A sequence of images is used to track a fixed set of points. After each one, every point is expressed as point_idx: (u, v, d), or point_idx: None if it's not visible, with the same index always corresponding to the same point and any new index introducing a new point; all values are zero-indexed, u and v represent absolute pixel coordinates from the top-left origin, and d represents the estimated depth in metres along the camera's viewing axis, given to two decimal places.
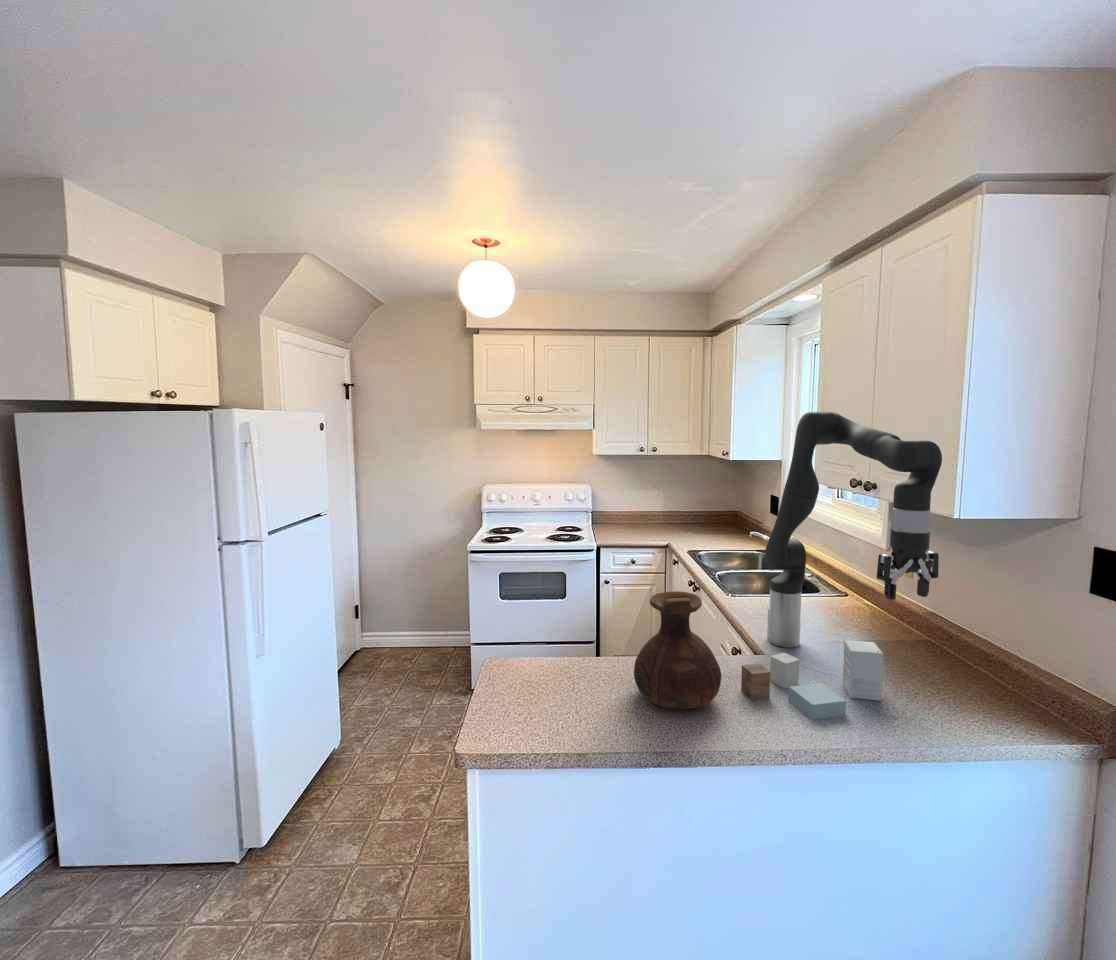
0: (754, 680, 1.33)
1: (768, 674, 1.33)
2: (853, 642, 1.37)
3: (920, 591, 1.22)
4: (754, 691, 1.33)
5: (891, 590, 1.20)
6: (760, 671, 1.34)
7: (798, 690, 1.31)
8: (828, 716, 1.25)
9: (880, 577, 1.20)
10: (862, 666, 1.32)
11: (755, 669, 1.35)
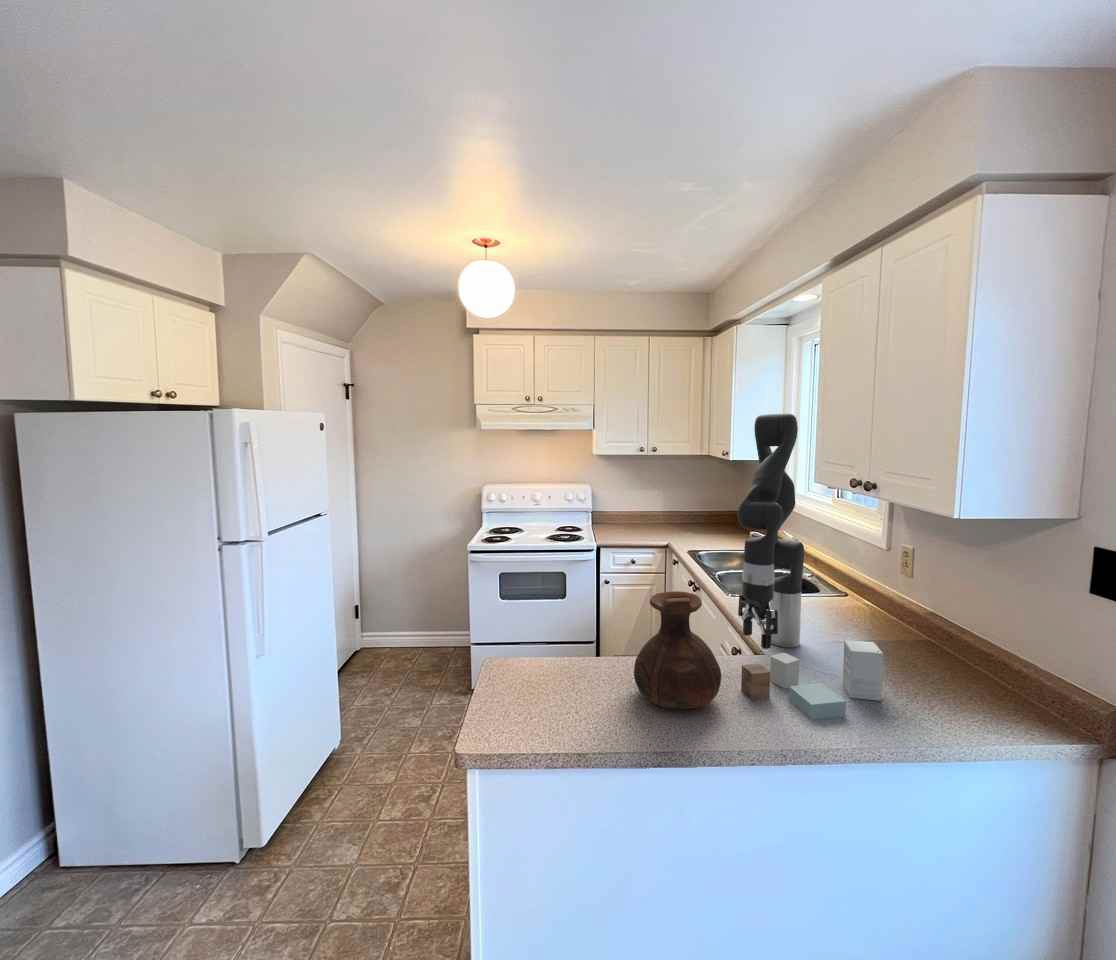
0: (754, 680, 1.33)
1: (768, 674, 1.33)
2: (853, 642, 1.37)
3: (747, 631, 1.38)
4: (754, 691, 1.33)
5: None
6: (760, 671, 1.34)
7: (798, 689, 1.31)
8: (827, 716, 1.25)
9: (773, 632, 1.27)
10: (862, 666, 1.32)
11: (755, 669, 1.35)
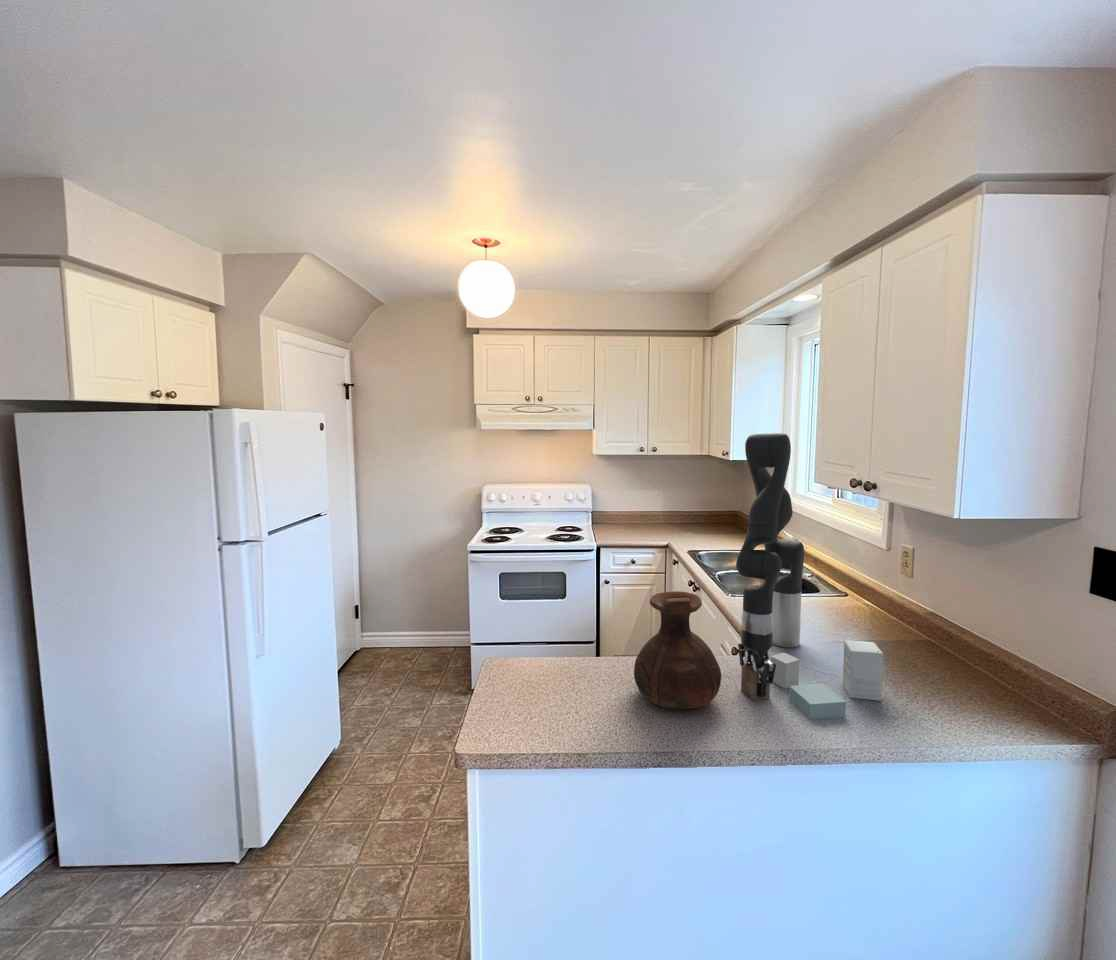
0: (754, 680, 1.33)
1: None
2: (853, 642, 1.37)
3: None
4: (754, 690, 1.33)
5: None
6: None
7: (798, 689, 1.31)
8: (827, 716, 1.25)
9: (768, 682, 1.30)
10: (862, 666, 1.32)
11: None
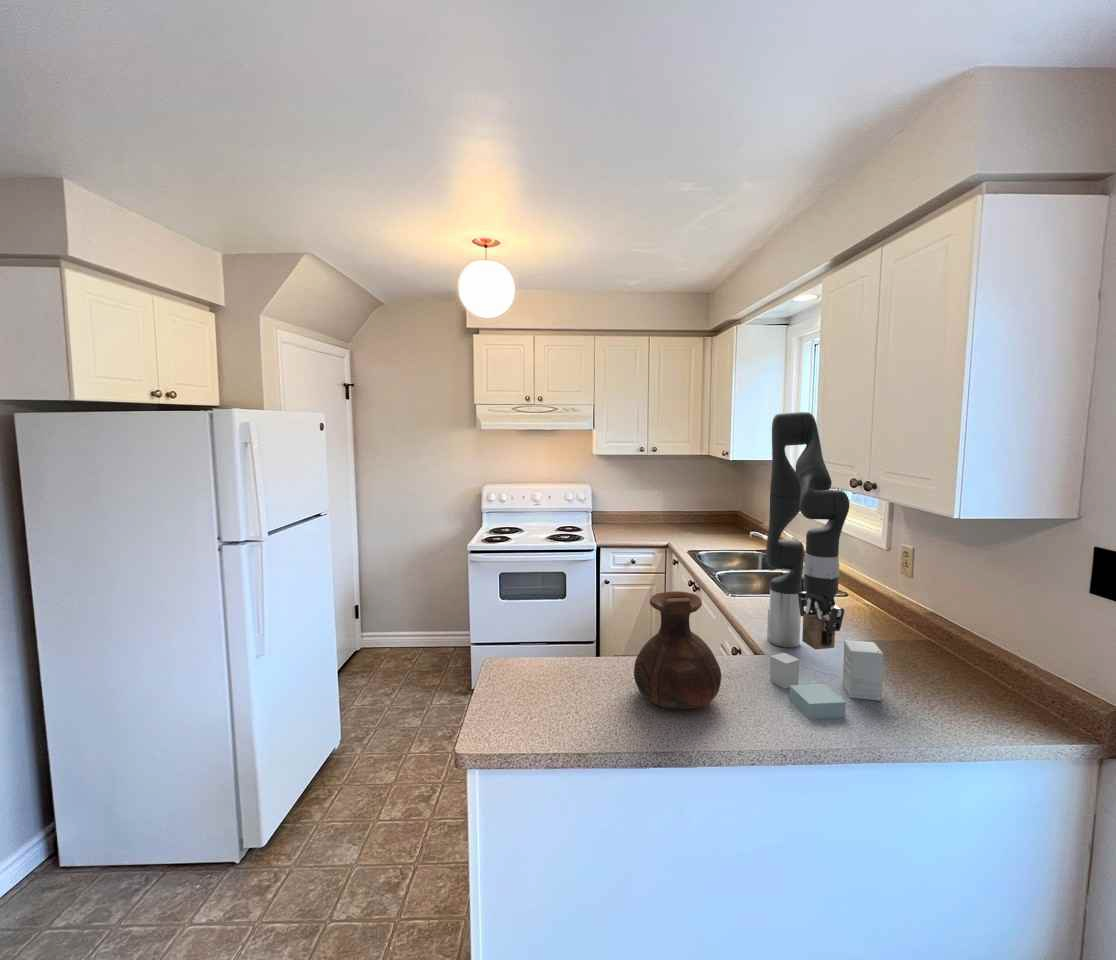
0: (819, 628, 1.24)
1: None
2: (853, 642, 1.37)
3: None
4: (818, 639, 1.25)
5: None
6: None
7: (798, 689, 1.31)
8: (826, 716, 1.25)
9: (835, 629, 1.22)
10: (862, 666, 1.32)
11: None
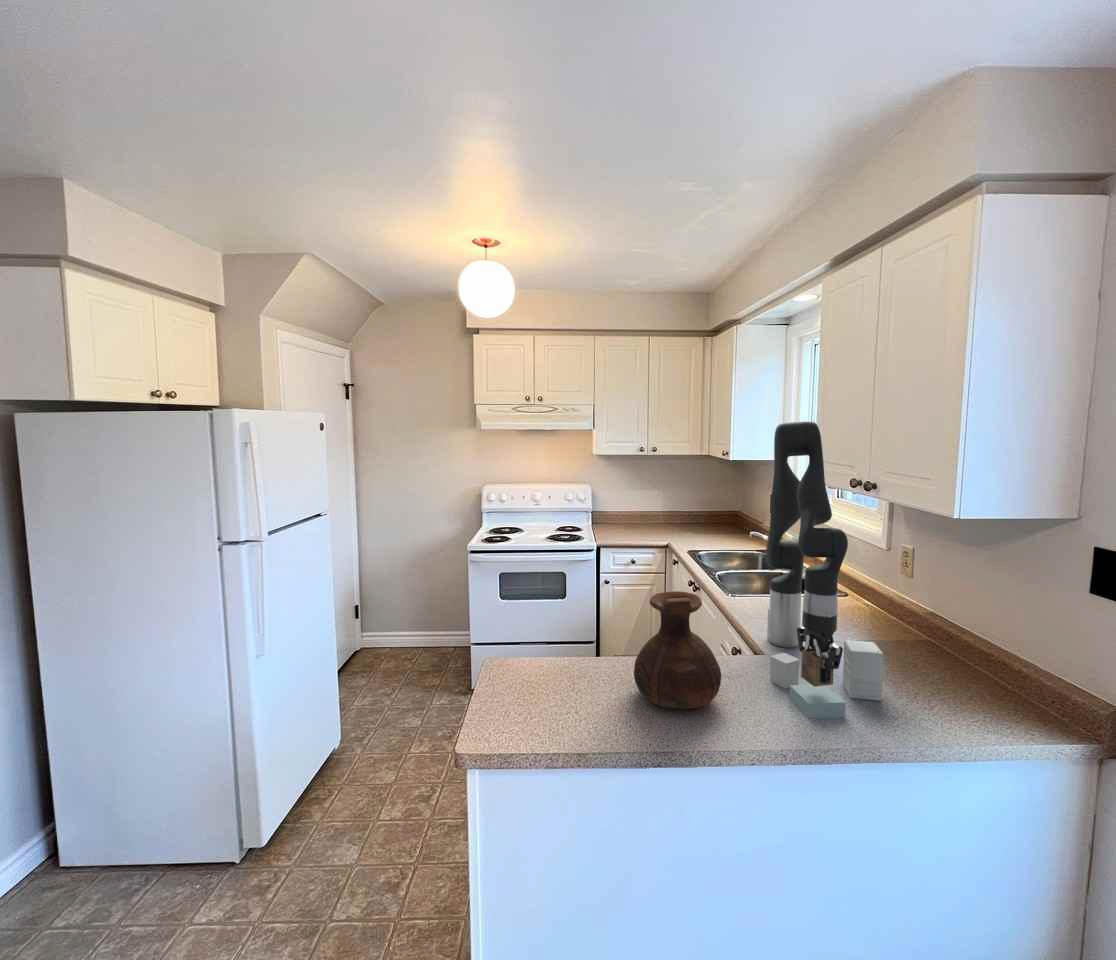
0: (817, 665, 1.25)
1: None
2: (853, 642, 1.37)
3: None
4: (817, 676, 1.25)
5: None
6: None
7: (798, 689, 1.31)
8: (826, 716, 1.25)
9: (833, 667, 1.22)
10: (862, 666, 1.32)
11: None
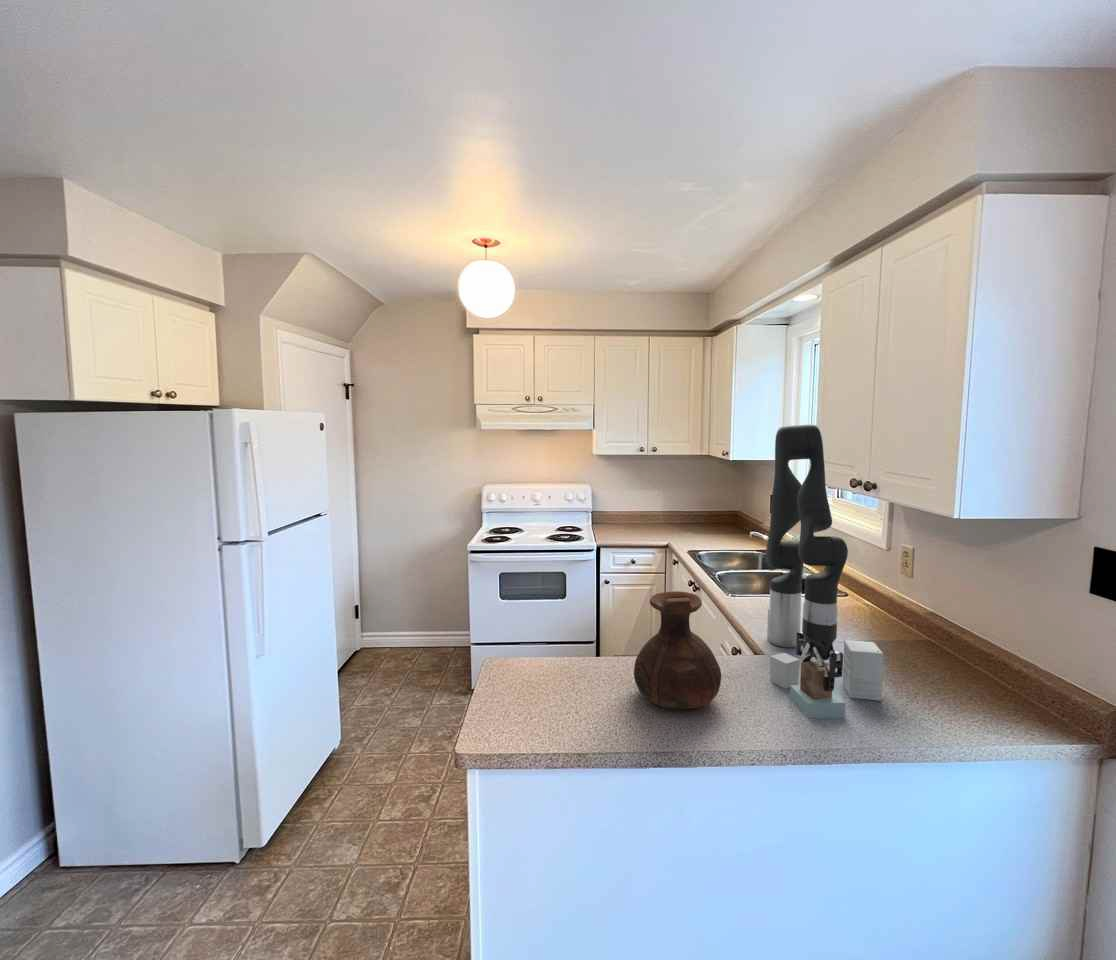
0: (816, 679, 1.26)
1: None
2: (853, 642, 1.37)
3: None
4: (816, 689, 1.26)
5: None
6: (822, 669, 1.27)
7: (798, 689, 1.31)
8: (825, 716, 1.25)
9: (837, 675, 1.21)
10: (862, 666, 1.32)
11: (816, 666, 1.28)
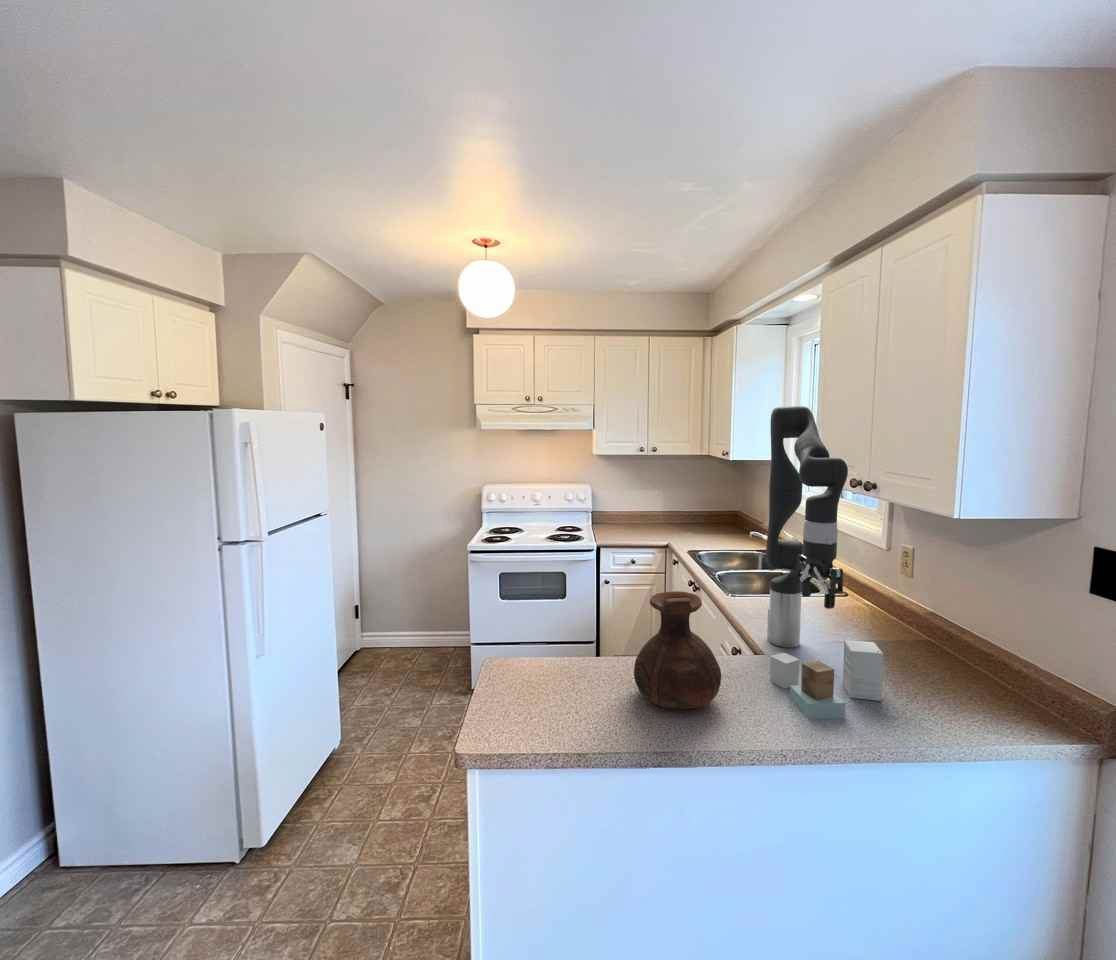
0: (819, 679, 1.25)
1: (832, 671, 1.26)
2: (853, 642, 1.37)
3: (806, 592, 1.35)
4: (819, 690, 1.26)
5: None
6: (824, 669, 1.27)
7: (798, 689, 1.31)
8: (825, 717, 1.25)
9: (838, 591, 1.24)
10: (862, 666, 1.32)
11: (818, 667, 1.28)
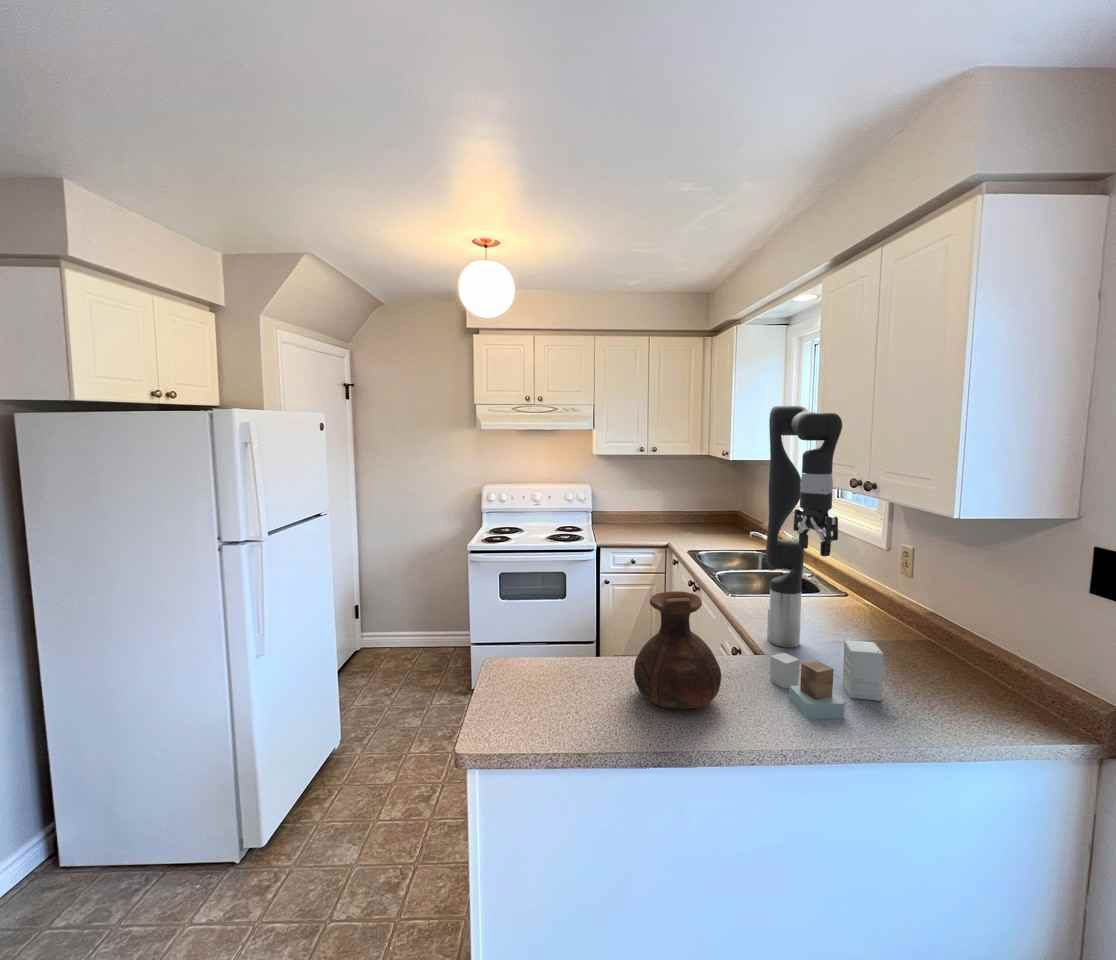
0: (819, 679, 1.26)
1: (831, 671, 1.27)
2: (853, 642, 1.37)
3: (803, 544, 1.41)
4: (818, 690, 1.26)
5: None
6: (824, 668, 1.27)
7: (798, 689, 1.31)
8: (824, 717, 1.25)
9: (833, 538, 1.30)
10: (862, 666, 1.32)
11: (817, 667, 1.28)
